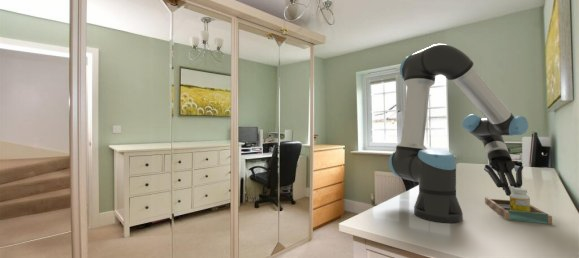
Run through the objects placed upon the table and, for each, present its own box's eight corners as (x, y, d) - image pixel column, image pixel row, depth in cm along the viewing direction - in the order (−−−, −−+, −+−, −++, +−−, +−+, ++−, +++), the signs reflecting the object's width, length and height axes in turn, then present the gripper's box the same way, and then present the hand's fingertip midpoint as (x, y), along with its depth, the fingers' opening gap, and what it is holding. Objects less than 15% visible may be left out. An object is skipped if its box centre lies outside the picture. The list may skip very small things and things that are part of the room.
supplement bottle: (531, 219, 88) (530, 191, 88) (510, 216, 91) (509, 189, 91) (529, 215, 92) (528, 188, 92) (509, 212, 95) (509, 186, 95)
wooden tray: (485, 203, 108) (485, 196, 108) (521, 206, 103) (521, 198, 103) (506, 219, 88) (505, 210, 88) (552, 224, 83) (551, 214, 83)
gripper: (514, 160, 111) (535, 210, 95) (477, 159, 116) (492, 206, 100) (519, 148, 106) (542, 199, 90) (481, 148, 111) (496, 196, 95)
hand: (516, 203), depth 95 cm, fingers closed
